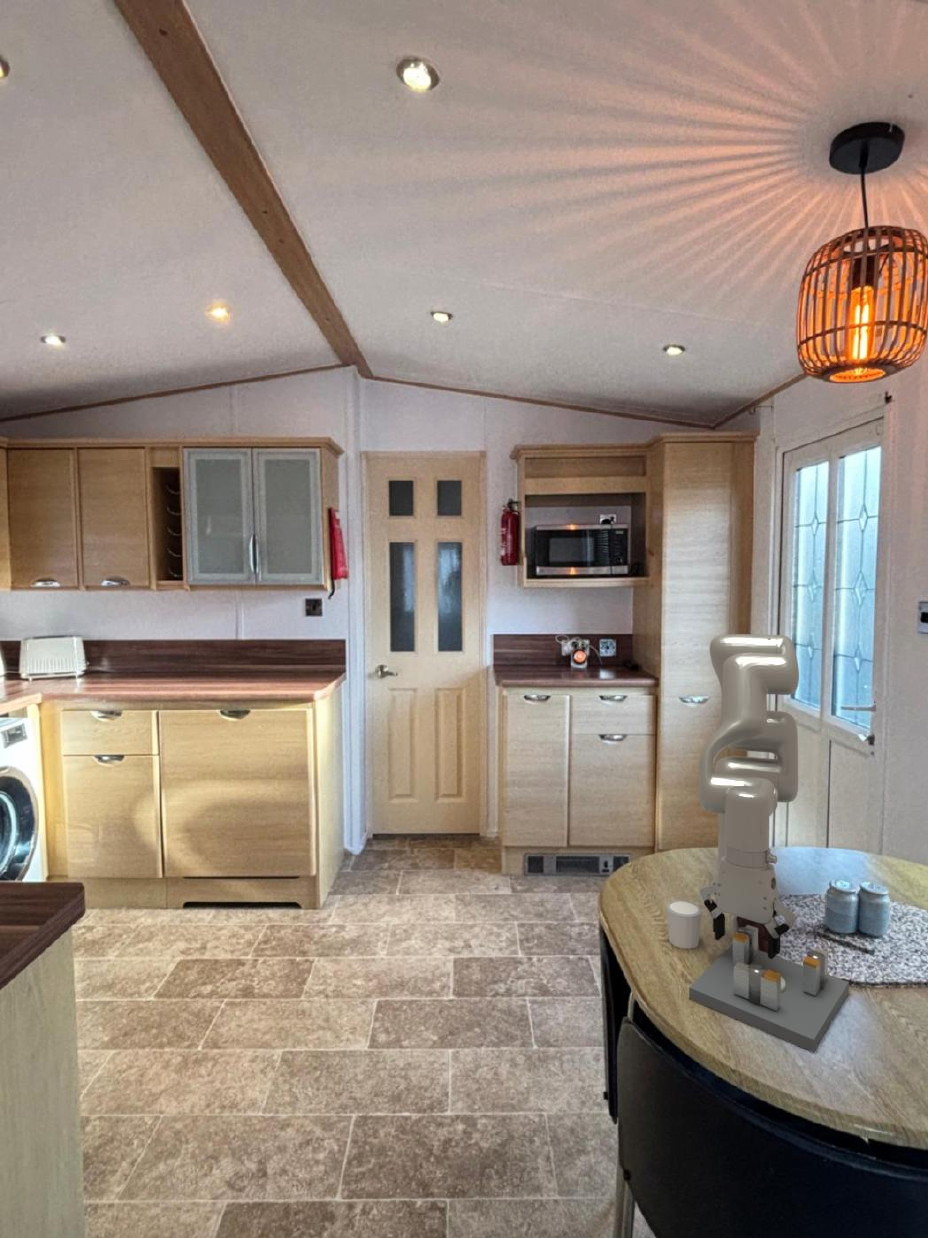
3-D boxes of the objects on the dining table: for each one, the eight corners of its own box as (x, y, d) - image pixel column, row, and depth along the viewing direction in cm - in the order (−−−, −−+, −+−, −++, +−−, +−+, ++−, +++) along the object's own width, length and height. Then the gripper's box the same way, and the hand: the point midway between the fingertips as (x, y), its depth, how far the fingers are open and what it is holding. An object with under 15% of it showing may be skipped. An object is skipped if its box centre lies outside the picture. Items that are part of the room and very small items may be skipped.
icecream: (729, 889, 145) (736, 930, 131) (766, 885, 143) (777, 926, 128) (737, 919, 145) (745, 963, 131) (774, 915, 143) (786, 960, 129)
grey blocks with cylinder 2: (812, 972, 121) (813, 943, 121) (830, 978, 119) (830, 949, 119) (800, 990, 116) (800, 960, 116) (818, 996, 114) (818, 966, 114)
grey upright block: (744, 948, 129) (745, 921, 129) (760, 953, 127) (760, 926, 127) (730, 963, 124) (730, 935, 124) (745, 969, 122) (746, 941, 122)
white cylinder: (704, 952, 132) (704, 917, 132) (667, 949, 134) (667, 914, 133) (699, 934, 139) (699, 901, 139) (664, 931, 140) (664, 898, 140)
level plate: (734, 951, 132) (734, 935, 132) (848, 993, 119) (849, 975, 118) (689, 998, 118) (689, 980, 118) (813, 1052, 104) (813, 1031, 104)
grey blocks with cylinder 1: (732, 994, 115) (732, 964, 115) (738, 987, 117) (739, 957, 117) (775, 1012, 110) (775, 980, 110) (781, 1004, 112) (781, 973, 112)
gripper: (803, 861, 121) (802, 955, 122) (709, 838, 133) (708, 923, 134) (789, 874, 116) (788, 972, 117) (692, 849, 128) (691, 938, 128)
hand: (745, 946), depth 125 cm, fingers open, 9 cm apart
